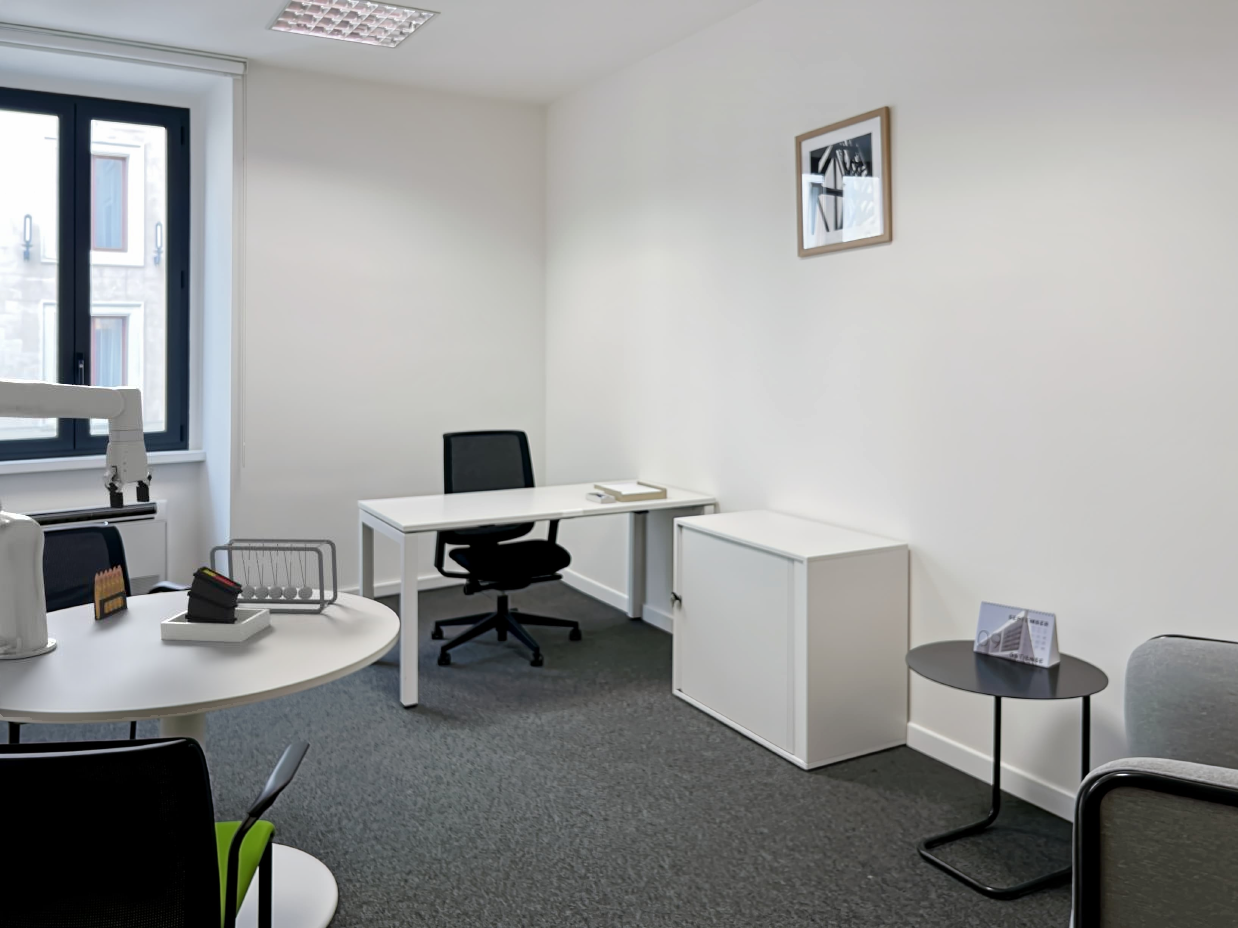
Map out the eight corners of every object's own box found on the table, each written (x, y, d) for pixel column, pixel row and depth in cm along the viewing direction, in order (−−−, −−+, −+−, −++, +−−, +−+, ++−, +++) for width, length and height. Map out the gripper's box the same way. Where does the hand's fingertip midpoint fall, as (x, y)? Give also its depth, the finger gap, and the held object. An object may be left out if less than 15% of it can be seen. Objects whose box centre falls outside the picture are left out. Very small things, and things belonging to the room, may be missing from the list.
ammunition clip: (101, 619, 232) (97, 574, 231) (94, 619, 233) (91, 573, 231) (127, 608, 243) (124, 564, 241) (121, 608, 243) (118, 564, 242)
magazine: (182, 617, 225) (204, 564, 222) (229, 641, 224) (251, 589, 222) (173, 622, 221) (195, 568, 219) (220, 646, 220) (243, 593, 218)
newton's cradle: (338, 603, 248) (336, 539, 246) (324, 614, 238) (321, 547, 235) (231, 601, 250) (228, 537, 248) (212, 612, 239) (208, 546, 237)
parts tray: (240, 642, 214) (240, 625, 214) (161, 639, 217) (160, 622, 216) (270, 624, 228) (269, 609, 228) (195, 621, 230) (194, 606, 230)
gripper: (135, 433, 235) (139, 499, 236) (87, 439, 218) (92, 510, 219) (162, 434, 233) (166, 500, 235) (116, 440, 216) (120, 511, 218)
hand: (130, 504), depth 227 cm, fingers open, 9 cm apart
